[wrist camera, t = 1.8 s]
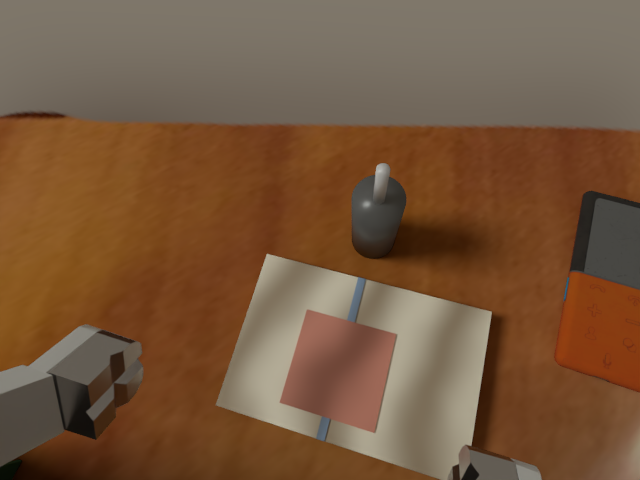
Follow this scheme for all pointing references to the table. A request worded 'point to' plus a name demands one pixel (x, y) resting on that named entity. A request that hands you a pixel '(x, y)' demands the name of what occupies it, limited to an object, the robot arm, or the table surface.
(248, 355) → the cream flat block
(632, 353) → the phone
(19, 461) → the binder
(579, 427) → the table surface
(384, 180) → the grey cylinder with rod
